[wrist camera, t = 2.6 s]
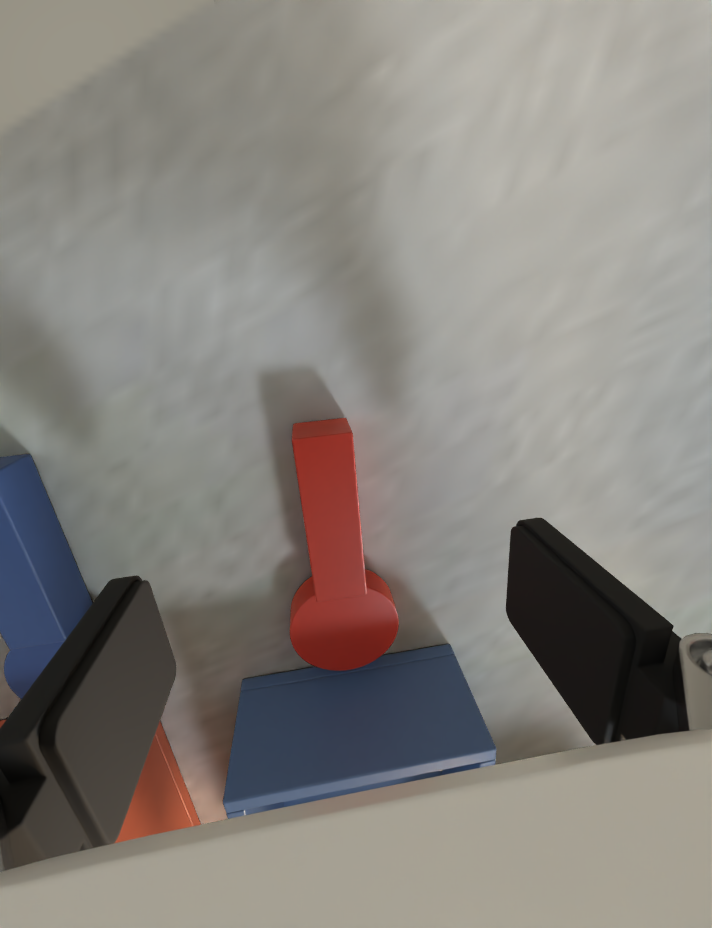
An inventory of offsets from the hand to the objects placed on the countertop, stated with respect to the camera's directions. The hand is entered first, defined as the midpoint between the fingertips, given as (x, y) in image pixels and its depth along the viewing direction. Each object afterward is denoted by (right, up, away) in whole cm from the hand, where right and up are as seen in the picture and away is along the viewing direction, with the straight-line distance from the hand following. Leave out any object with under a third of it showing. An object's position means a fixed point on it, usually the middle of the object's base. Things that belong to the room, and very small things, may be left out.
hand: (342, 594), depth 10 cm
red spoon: (0, 0, +5) cm, 5 cm away
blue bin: (+1, -11, +10) cm, 15 cm away
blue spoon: (-10, -1, +4) cm, 11 cm away
